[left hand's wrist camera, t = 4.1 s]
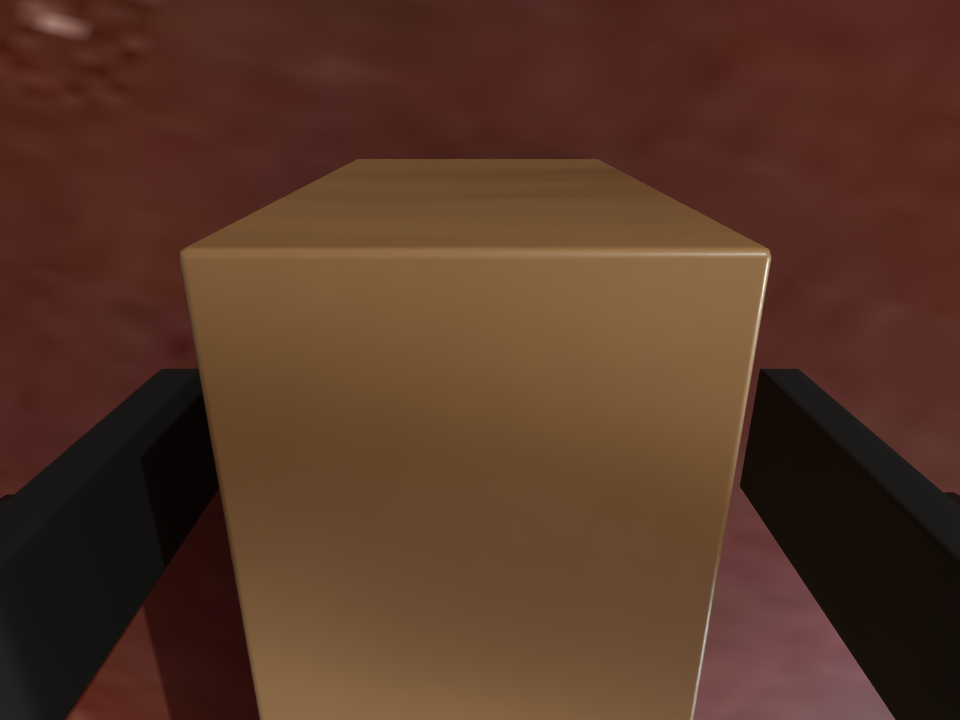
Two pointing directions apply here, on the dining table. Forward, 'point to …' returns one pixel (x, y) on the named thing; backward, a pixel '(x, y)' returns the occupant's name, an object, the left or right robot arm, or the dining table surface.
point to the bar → (475, 437)
